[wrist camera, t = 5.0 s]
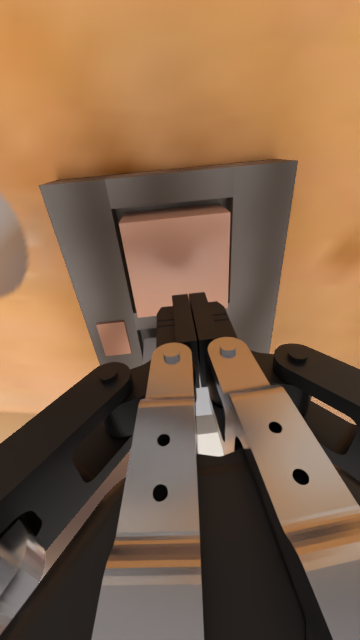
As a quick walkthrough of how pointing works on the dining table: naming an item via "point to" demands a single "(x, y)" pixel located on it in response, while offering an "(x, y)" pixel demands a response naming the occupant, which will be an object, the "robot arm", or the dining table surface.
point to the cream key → (208, 436)
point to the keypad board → (163, 193)
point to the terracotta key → (176, 254)
